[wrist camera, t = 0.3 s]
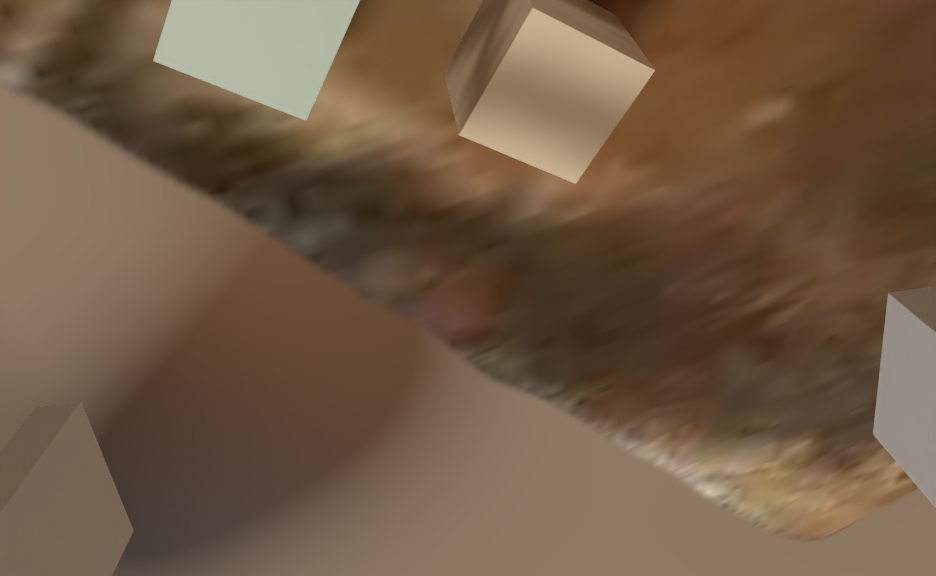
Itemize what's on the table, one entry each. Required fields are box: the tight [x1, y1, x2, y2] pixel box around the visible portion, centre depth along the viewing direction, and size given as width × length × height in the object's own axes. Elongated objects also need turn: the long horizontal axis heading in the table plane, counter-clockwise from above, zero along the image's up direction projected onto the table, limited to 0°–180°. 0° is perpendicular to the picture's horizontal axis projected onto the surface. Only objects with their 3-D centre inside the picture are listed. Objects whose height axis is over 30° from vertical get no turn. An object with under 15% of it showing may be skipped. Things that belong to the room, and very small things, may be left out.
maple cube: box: [444, 0, 655, 184], centre depth 35 cm, size 6×6×6 cm
